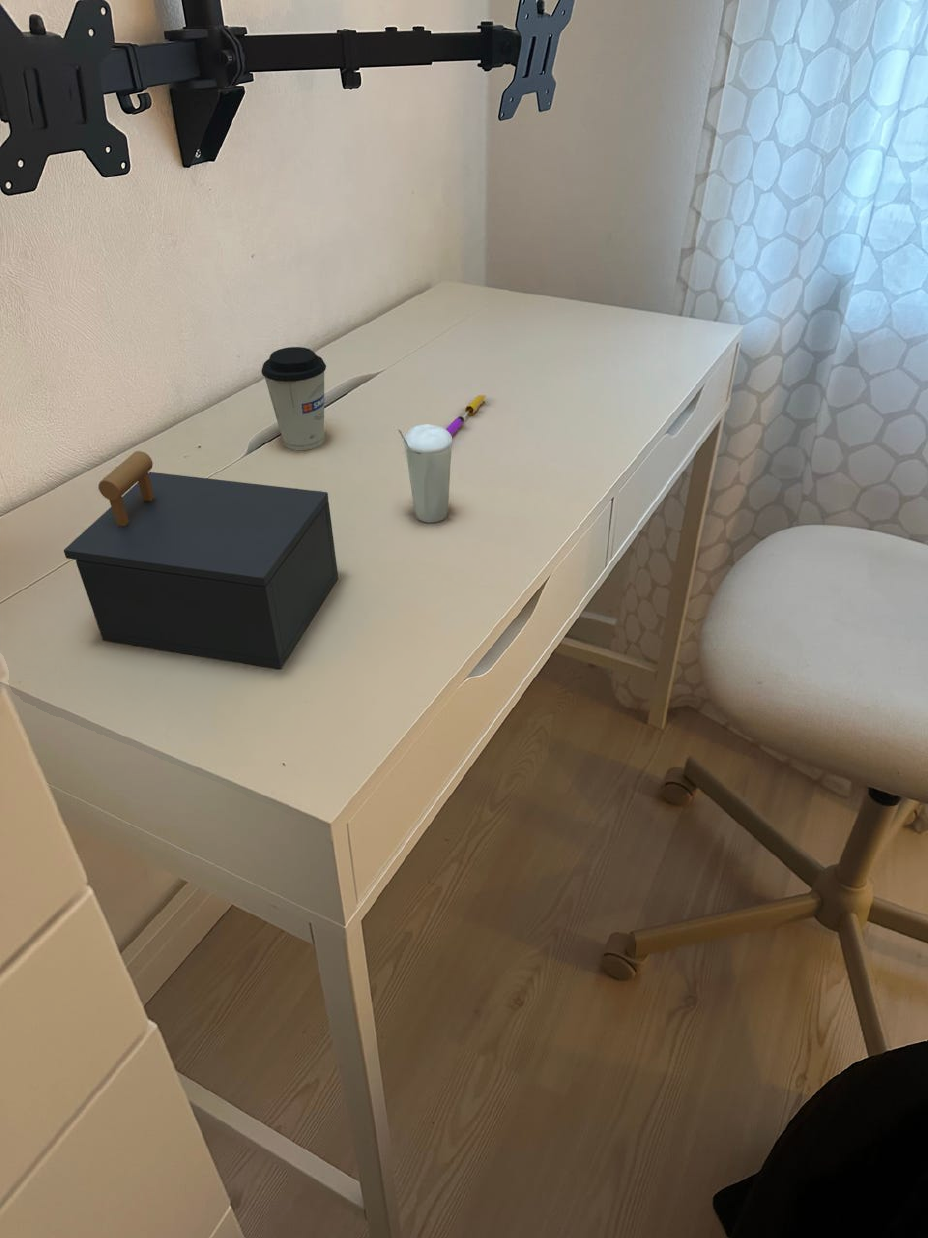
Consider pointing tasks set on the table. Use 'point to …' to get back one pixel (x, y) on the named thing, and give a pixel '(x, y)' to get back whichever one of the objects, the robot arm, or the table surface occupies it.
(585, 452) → the table surface
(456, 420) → the purple yellow rod
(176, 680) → the table surface
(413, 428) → the milkshake
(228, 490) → the lid
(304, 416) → the coffee cup
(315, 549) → the black open box
